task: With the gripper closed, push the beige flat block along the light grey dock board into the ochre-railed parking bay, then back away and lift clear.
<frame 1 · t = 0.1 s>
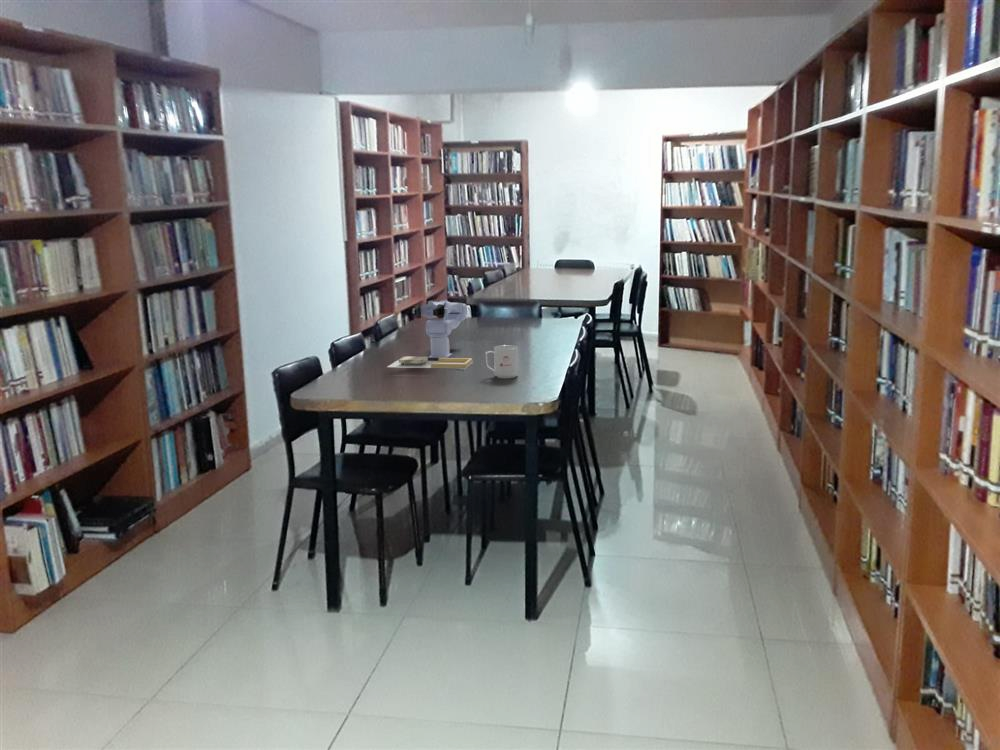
hand: (424, 312, 347), 22 cm above the table, tool horizontal, fingers open, 7 cm apart
dock board: (430, 365, 352), on the table
beige flat block: (413, 364, 353), resting on dock board
mug: (502, 377, 328), on the table
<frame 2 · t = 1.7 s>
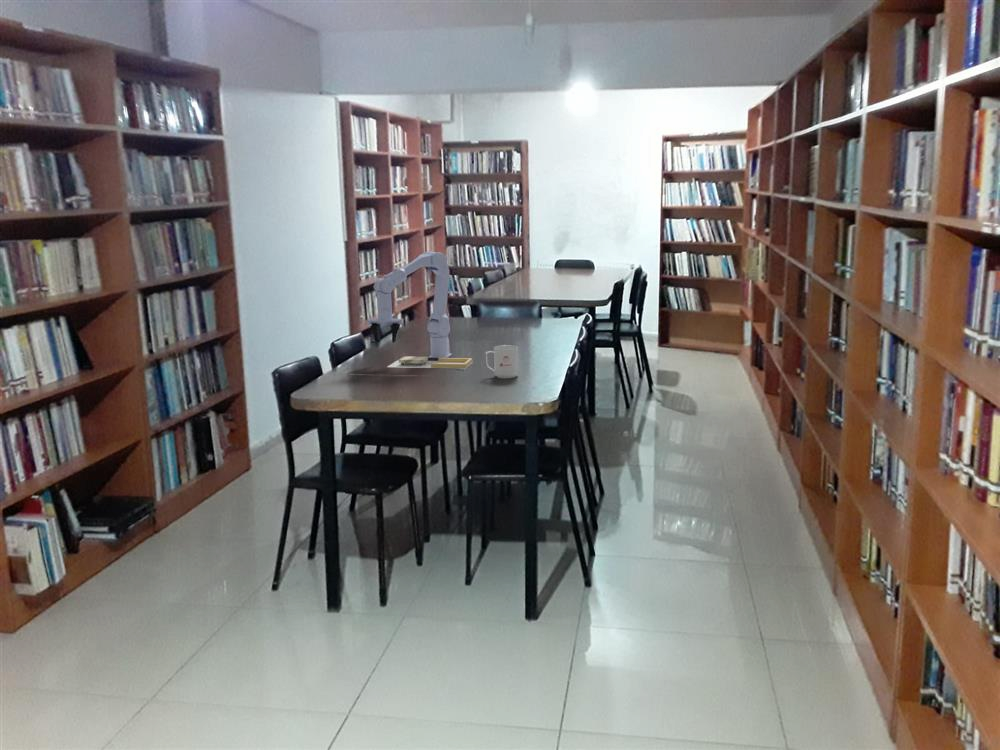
hand: (386, 341, 354), 9 cm above the table, tool pointing down, fingers open, 6 cm apart
nothing on the table moved.
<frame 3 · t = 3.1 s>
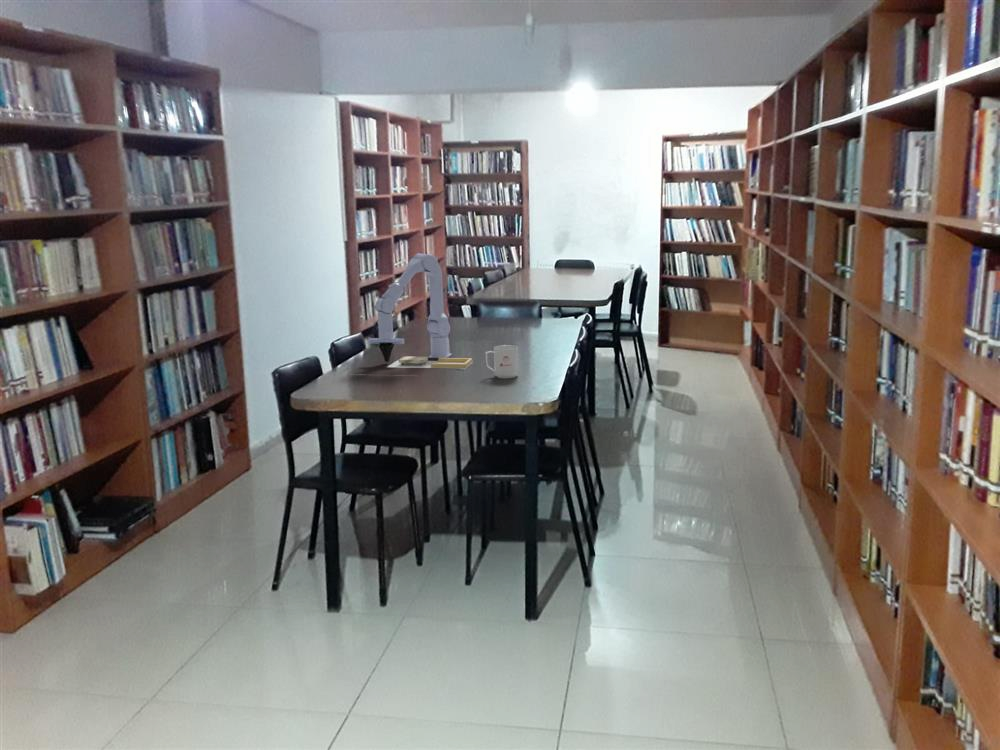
hand: (387, 361, 355), 1 cm above the table, tool pointing down, fingers closed
nothing on the table moved.
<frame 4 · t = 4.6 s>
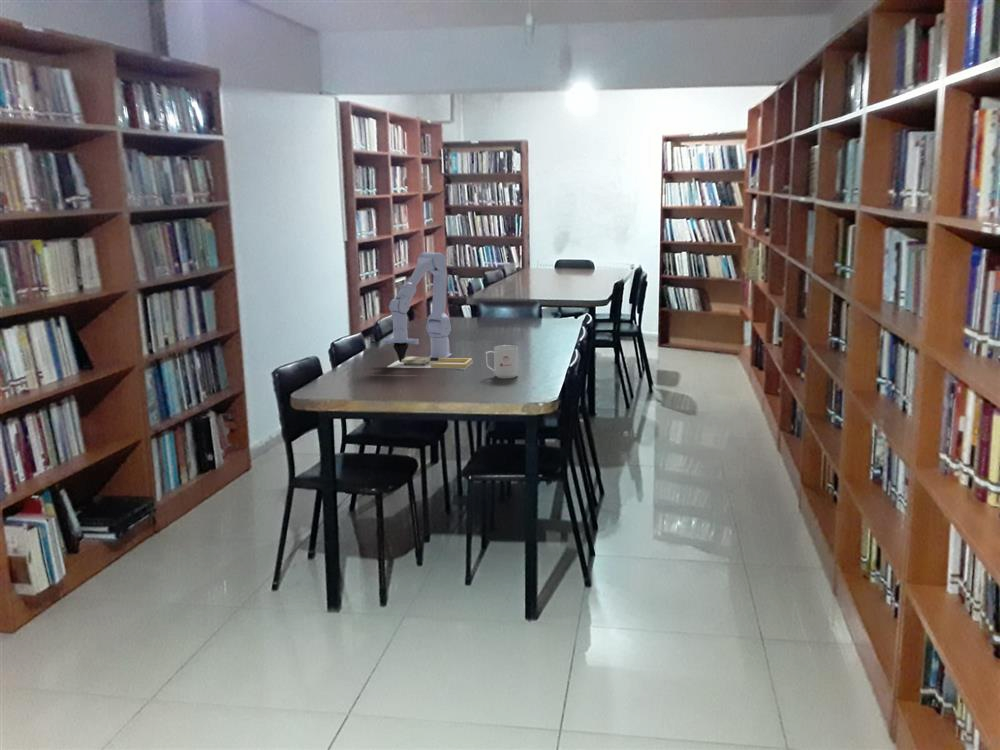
hand: (401, 361, 354), 1 cm above the table, tool pointing down, fingers closed
beige flat block: (416, 364, 353), point 1 cm above the table, touching gripper
everything else where it was.
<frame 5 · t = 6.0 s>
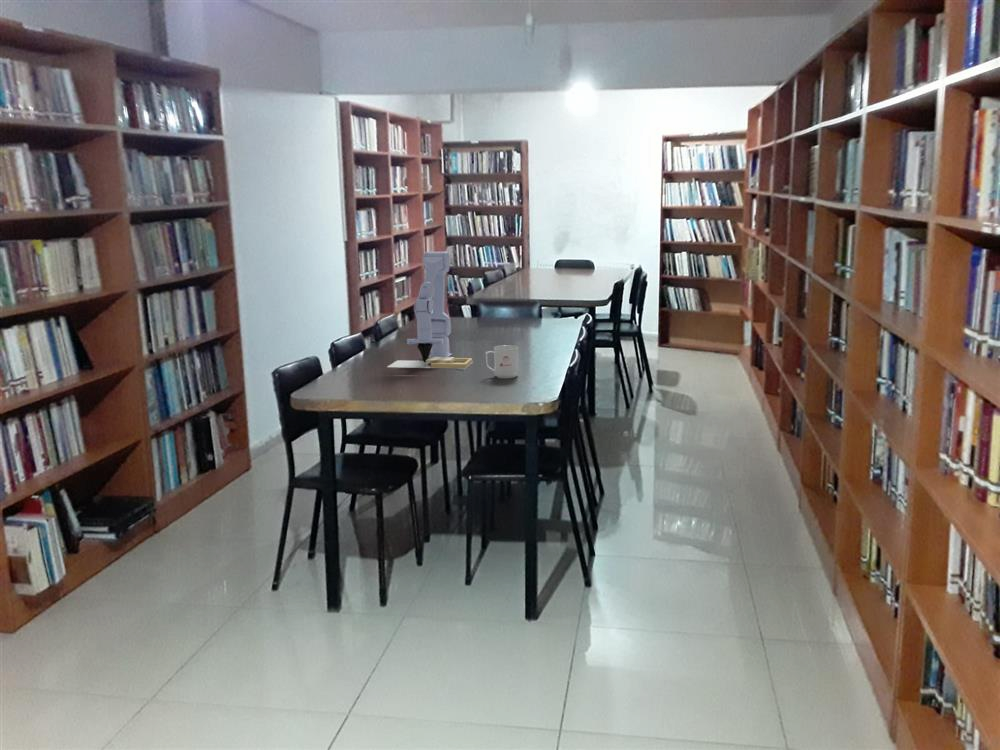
hand: (425, 362, 352), 1 cm above the table, tool pointing down, fingers closed
beige flat block: (440, 364, 351), point 1 cm above the table, touching gripper
everything else where it was.
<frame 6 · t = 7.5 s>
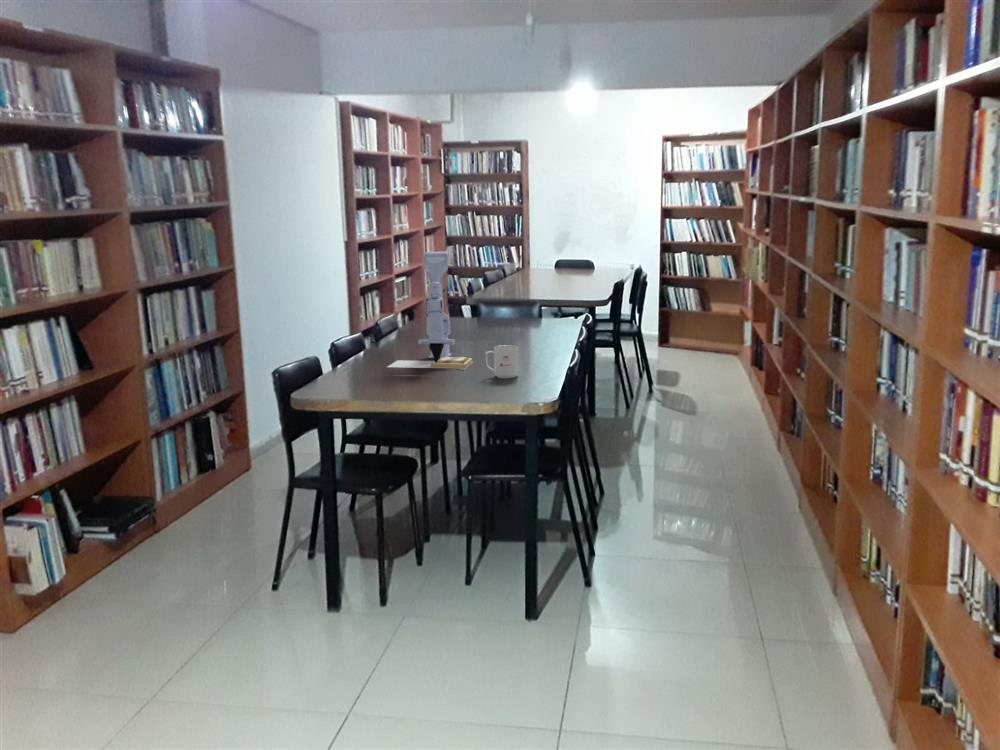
hand: (437, 362, 351), 1 cm above the table, tool pointing down, fingers closed
beige flat block: (452, 364, 350), resting on dock board, touching gripper
everything else where it was.
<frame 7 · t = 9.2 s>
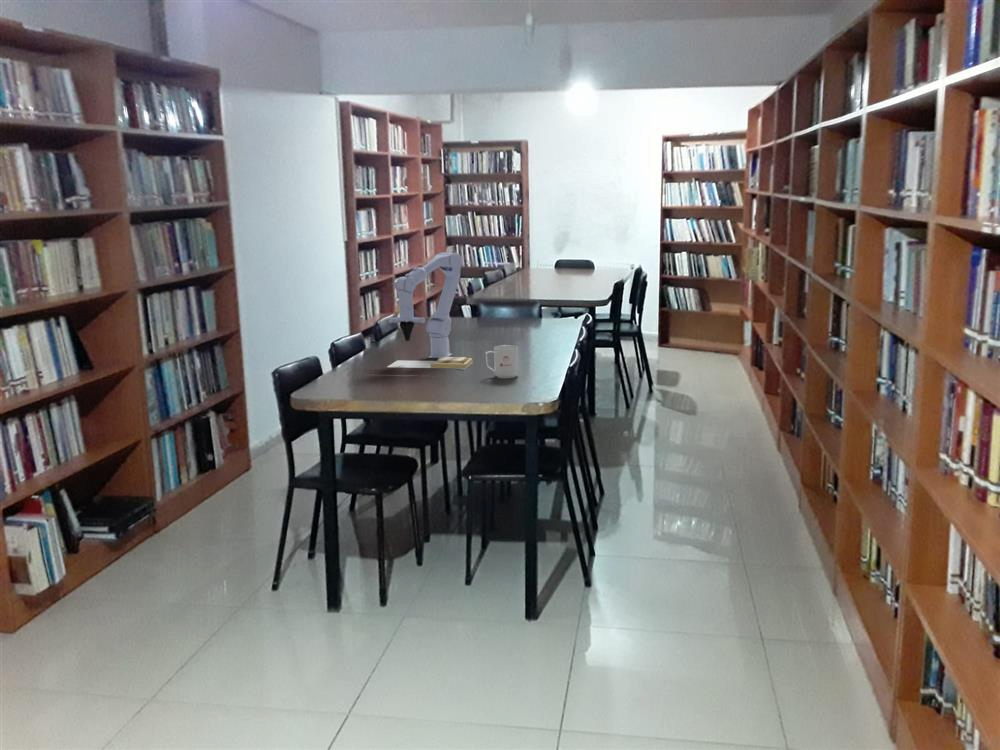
hand: (407, 340, 356), 9 cm above the table, tool pointing down, fingers closed
beige flat block: (452, 364, 350), resting on dock board
everything else where it was.
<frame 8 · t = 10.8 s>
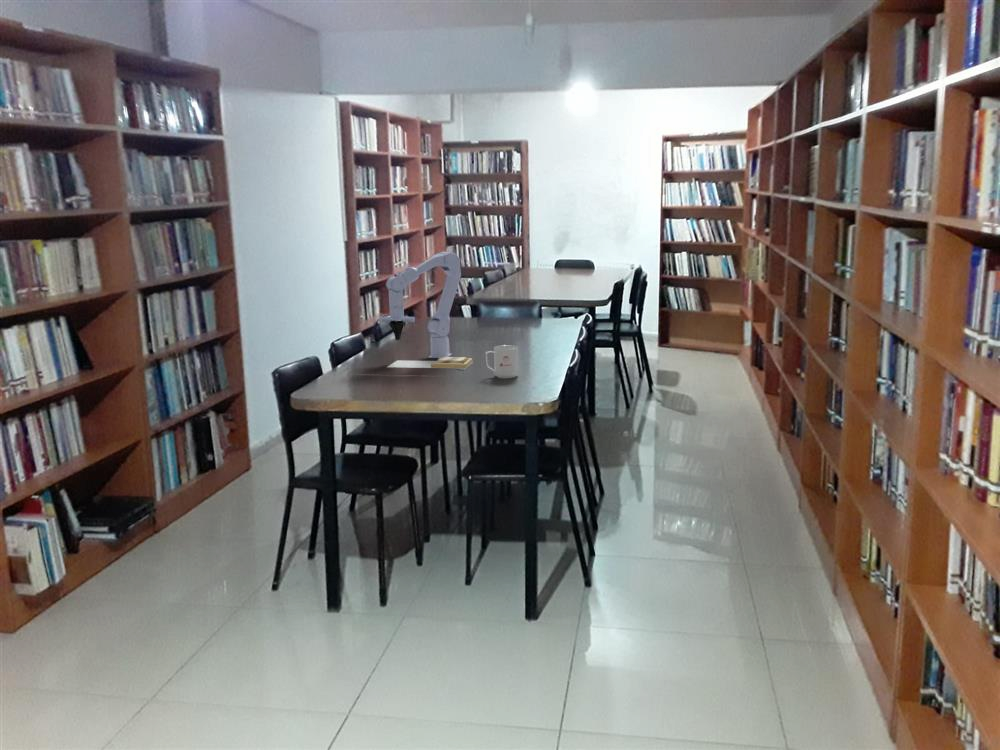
hand: (398, 339, 359), 9 cm above the table, tool pointing down, fingers closed
nothing on the table moved.
at the end: beige flat block 0.4 cm from the target spot, point 0.5 cm above the table; beige flat block tilted 0° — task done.
